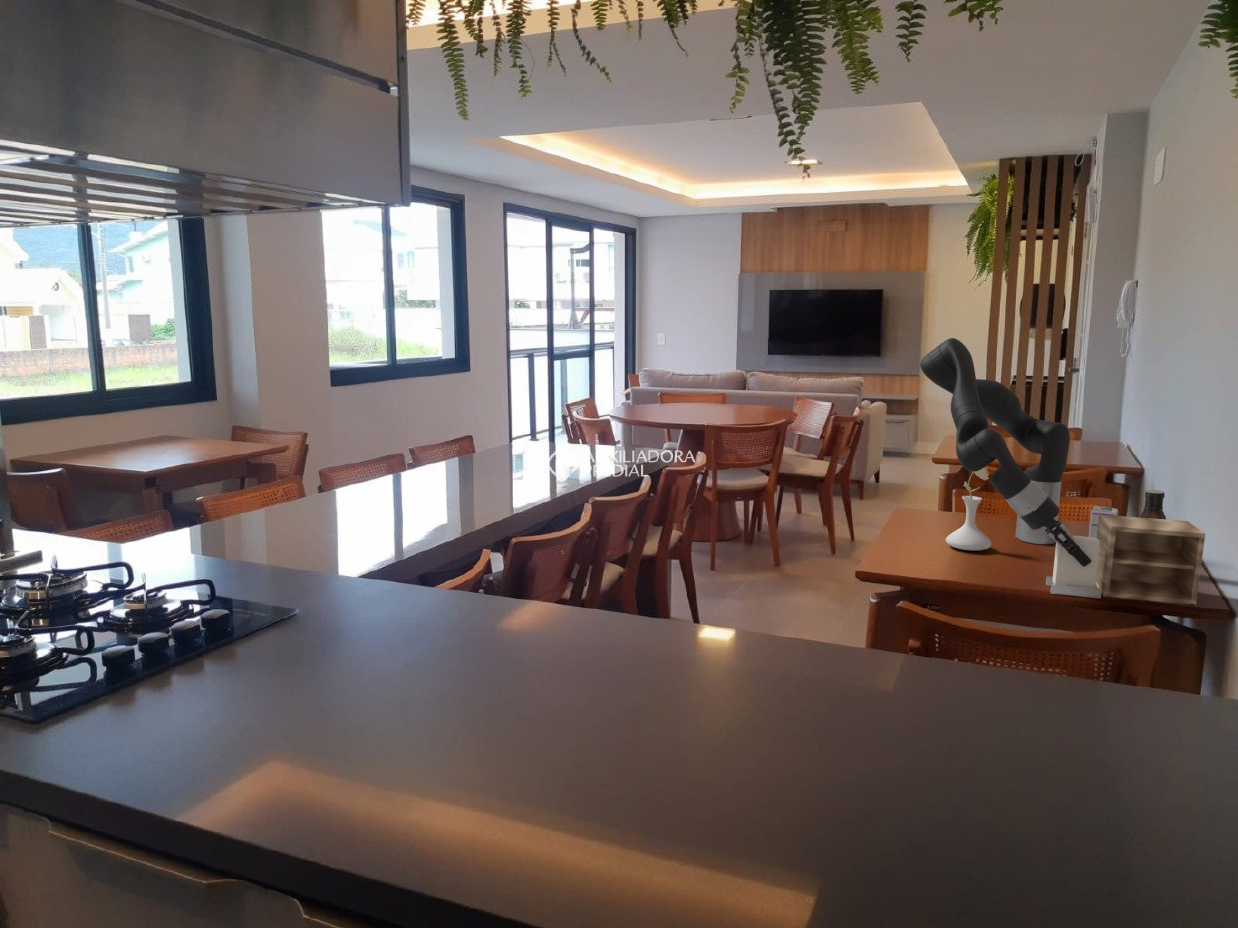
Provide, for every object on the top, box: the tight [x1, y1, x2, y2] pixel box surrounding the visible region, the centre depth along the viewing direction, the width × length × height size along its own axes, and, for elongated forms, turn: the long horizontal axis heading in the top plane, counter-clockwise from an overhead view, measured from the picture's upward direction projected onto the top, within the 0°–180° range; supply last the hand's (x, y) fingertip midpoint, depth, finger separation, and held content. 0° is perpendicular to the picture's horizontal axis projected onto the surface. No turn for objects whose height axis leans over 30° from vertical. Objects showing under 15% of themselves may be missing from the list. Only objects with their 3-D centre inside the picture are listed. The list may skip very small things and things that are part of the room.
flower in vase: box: [945, 466, 993, 552], centre depth 233 cm, size 13×11×25 cm
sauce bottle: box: [1139, 489, 1167, 520], centre depth 215 cm, size 7×6×20 cm
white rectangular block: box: [1052, 535, 1100, 588], centre depth 198 cm, size 8×4×11 cm, turn 73°
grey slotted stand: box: [1045, 575, 1102, 599], centre depth 199 cm, size 10×7×2 cm
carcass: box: [1095, 515, 1206, 606], centre depth 198 cm, size 18×12×16 cm, turn 73°
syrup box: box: [1088, 505, 1119, 538], centre depth 219 cm, size 6×6×14 cm
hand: (1085, 561), depth 197 cm, fingers open, 3 cm apart
